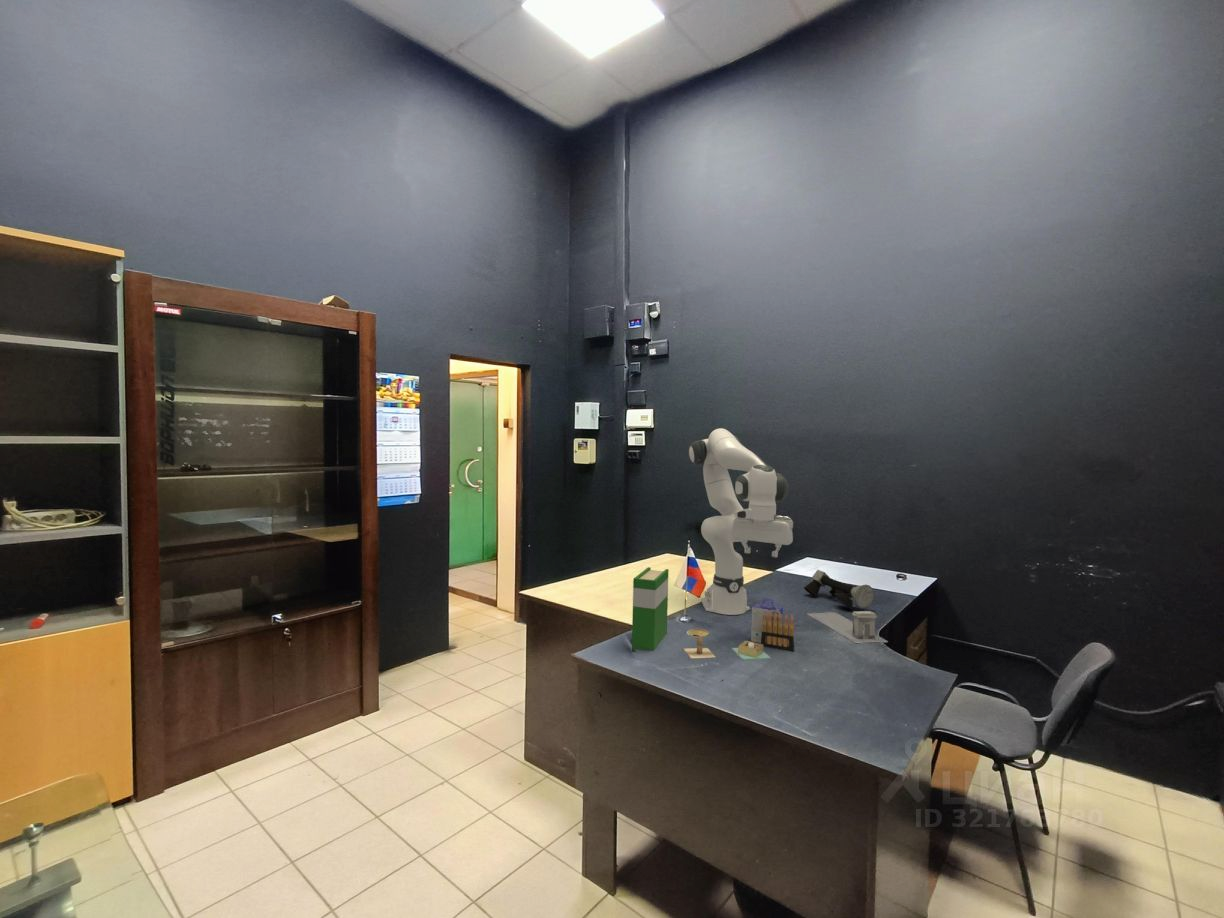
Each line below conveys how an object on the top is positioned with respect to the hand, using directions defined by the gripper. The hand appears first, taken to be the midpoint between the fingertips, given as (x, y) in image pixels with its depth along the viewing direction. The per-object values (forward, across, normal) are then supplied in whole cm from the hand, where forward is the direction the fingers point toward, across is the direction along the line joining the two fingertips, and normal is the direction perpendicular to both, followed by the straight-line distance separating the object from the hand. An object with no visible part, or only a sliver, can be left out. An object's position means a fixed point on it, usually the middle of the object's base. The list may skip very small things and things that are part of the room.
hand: (760, 554), depth 186 cm
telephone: (+32, -9, -72) cm, 79 cm away
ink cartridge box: (+31, -1, -6) cm, 32 cm away
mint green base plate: (+31, -2, +12) cm, 33 cm away
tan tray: (+29, -2, +12) cm, 32 cm away
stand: (+31, +11, +21) cm, 39 cm away
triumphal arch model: (+32, -19, -40) cm, 55 cm away
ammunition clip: (+31, -6, -3) cm, 32 cm away
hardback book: (+31, +30, +21) cm, 48 cm away
